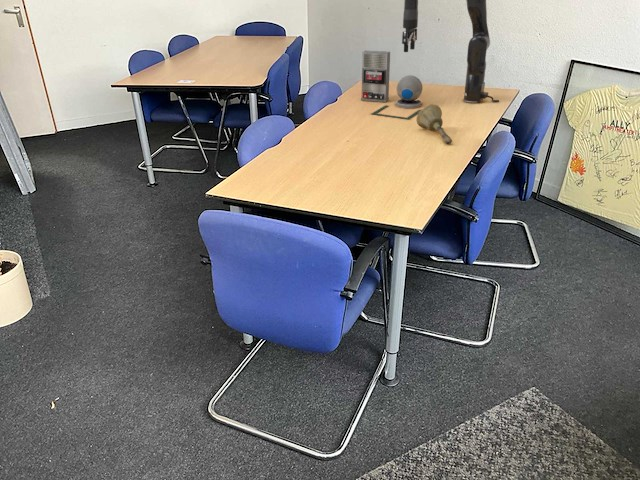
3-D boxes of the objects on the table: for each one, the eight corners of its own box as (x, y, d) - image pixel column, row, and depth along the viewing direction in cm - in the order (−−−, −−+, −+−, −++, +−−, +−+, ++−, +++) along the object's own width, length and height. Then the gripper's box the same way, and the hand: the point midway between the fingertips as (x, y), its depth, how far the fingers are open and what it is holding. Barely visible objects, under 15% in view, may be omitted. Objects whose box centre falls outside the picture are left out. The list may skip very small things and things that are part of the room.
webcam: (423, 102, 281) (425, 73, 274) (418, 109, 271) (420, 79, 264) (398, 101, 285) (400, 72, 278) (393, 107, 275) (395, 77, 267)
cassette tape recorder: (360, 100, 288) (361, 52, 276) (364, 97, 293) (365, 50, 281) (385, 102, 283) (387, 53, 271) (388, 99, 288) (390, 51, 276)
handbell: (428, 131, 246) (450, 158, 227) (410, 119, 240) (431, 146, 221) (445, 111, 241) (469, 137, 223) (428, 98, 235) (451, 123, 216)
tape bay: (422, 110, 269) (422, 110, 269) (408, 119, 256) (408, 118, 256) (385, 105, 278) (385, 105, 278) (371, 114, 265) (371, 113, 265)
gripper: (411, 20, 270) (410, 53, 278) (422, 16, 281) (420, 48, 289) (398, 19, 274) (397, 52, 282) (409, 16, 284) (407, 48, 292)
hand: (409, 50), depth 285 cm, fingers open, 8 cm apart
